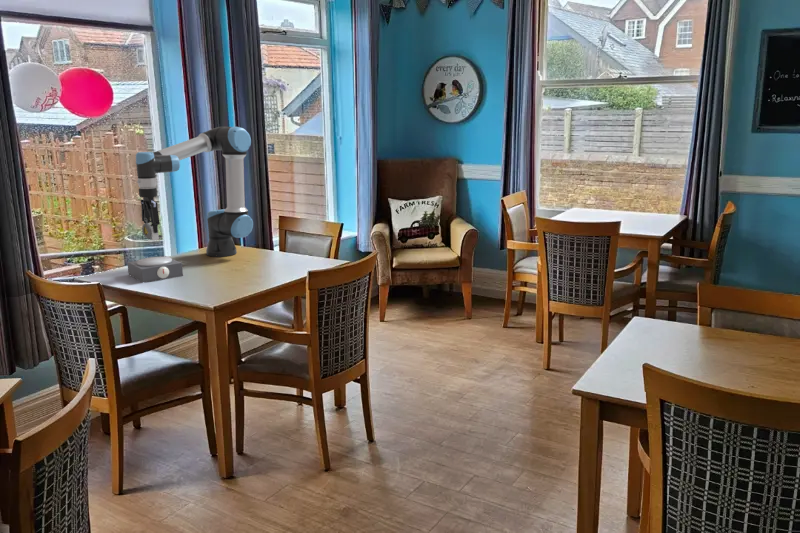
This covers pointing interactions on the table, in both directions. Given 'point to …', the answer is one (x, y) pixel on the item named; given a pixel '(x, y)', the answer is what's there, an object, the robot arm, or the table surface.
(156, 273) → the dial scale
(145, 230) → the pocket watch
